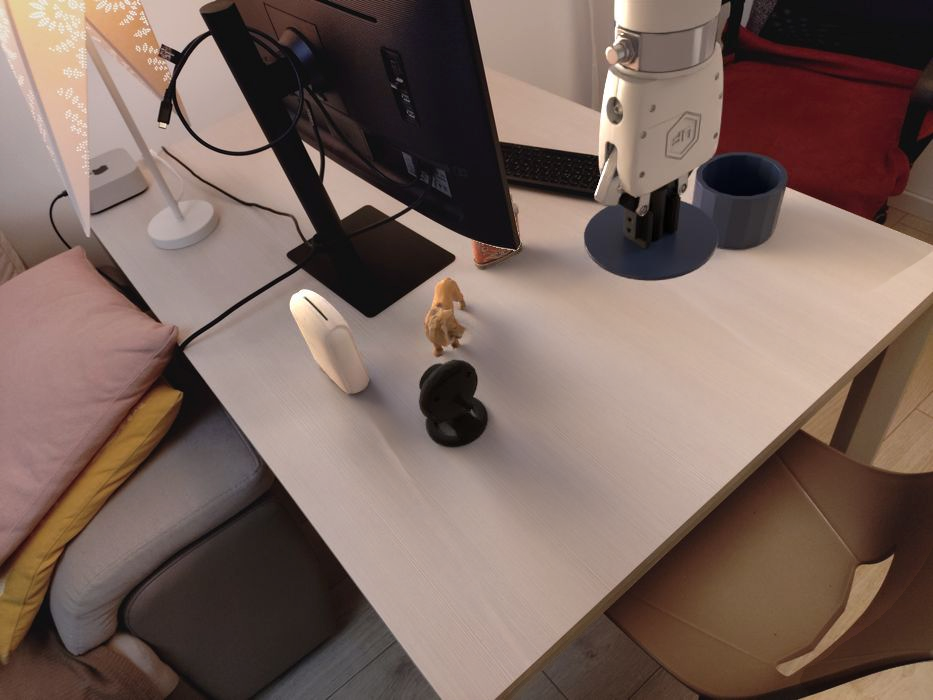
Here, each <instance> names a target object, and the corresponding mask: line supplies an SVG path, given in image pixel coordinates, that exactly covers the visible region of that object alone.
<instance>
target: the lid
mask: <svg viewBox="0 0 933 700" xmlns="http://www.w3.org/2000/svg"><path fill="white" fill-rule="evenodd" d="M667 190H668V184H666V185H664V186H662V187H660V188H658V189H656V190H654V191H652V192H651V194H650V202H649V209H648V210H650V211H651V212H652V213H653V224H652V237H651V244H650V246H649V247H647V248H646V249H644V248H642V247H640V246H639V245H637V244H636V243H634V242H633V241H631V240H630V239H628V238H627V237H625V236H624V234H623V223H624V207H623V206H621V205H617V206H605V207H604V208H602V209H600V210H599V211H597V213H595V214H594V215H593V216H592V217H591V218H590V220H589V221H588V222H587V224H586V226H585V228H584V232H583V246H584V250H585V252H586V254H587V255H588V257H589V258H590V260H591V261H592V262H593V263H594V264H595V265H597V266H598V267H599V268H601V269H602V270H604V271H605V272H606V271H607V272H608V273H610V274H612V275H614V276H617V277H621V278H625V279H628V280H635V281H642V282H643V281H644V282H656V281H657V282H658V281H667V280H671V279H677V278H681V277H683V276H686V275H689V274H691V273H693V272H695V271H697V270H699V269H700V268H701V267H703V266H704V265H706V264H707V263H708V262H709V261H710V259H711V258H712V257H713V256H714V254H715V252H716V251H717V248H718V247H717V245H718V230H717V227H716V225H715V223H714V222H713V220H712V219H711V218H710V217H709V216H708V215H707V214H706V213H705V212H704V211H702V210H701V209H699V208H698V207H696V206H694V205H692V203H689V202H687V201H683V200H681V202H680V211H679V220H678V229H677V231H675V232H674V233H668V232H667V231H665V230H664V222H665V212H666V201H667Z"/></svg>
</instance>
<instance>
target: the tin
mask: <svg viewBox="0 0 933 700" xmlns="http://www.w3.org/2000/svg"><path fill="white" fill-rule="evenodd" d="M788 182H789V178H788V172H787V169H786V168H785V167H784V166H783V165H782V164H781V163H780V161H778V160H775V159H774V158H772V157H769V156H767V155H765V154H760V153H754V152H749V151H731V152H726V153H721V154H716V155H713V156H712V157H711V158H710V159H709V160H708V161H707V162H705V163H704V164H702V165H700V166H699V167H697V168H696V171H695V179H694V184H693V185H694V186H693V194H692V200H691V204H692V205H694V206H696V207H698V208H699V209H701V210H702V211H704V212H705V213H706V214H707V215H708V216H709V217H710V218H711V219H712V220H713V222H714V223H715V225H716V227H717V230H718V245H717V248H719V249H723V250H746V249H751V248H755V247H758V246H760V245H762V244H764V243H766V242H767V241H768V240H769V239H770V238H771V237H772V236H773V234H774V232H775V230H776V228H777V225H778V220H779V216H780V212H781V209H782V205H783V202H784V201H783V200H784V197H785V192H786V189H787V185H788Z"/></svg>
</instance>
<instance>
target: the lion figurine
mask: <svg viewBox="0 0 933 700" xmlns="http://www.w3.org/2000/svg"><path fill="white" fill-rule="evenodd" d="M454 302H456V303H457V308H458V309H459V310H464V309H466V307H467V304H466V301H465V299H464V295H463V293H462V292H461V289H460V287H459V285H458V283H457V281H456V280H454V279H452V278H450V277H445V278H443V279H441V280H439V282H438V283H437V284H436V285H435V288H434V296H433V301H432V304H431V307H430V310H428V312H427V315H426V316H425V318H424V322H423V325H424V333H425V336H426V338H427V340H428V341H429V343H430V344H432V345H433V347H434V349H433V351H432V353H433V355H434V356H435V357H440V356H442V354H443V352H444V351H443V350H444V349H443V347H444V348H446V347H448V346H451V347H452V350H455V349H459V348H460V346H461V343H460V342H459V340H462V339H463V336H464V333H465V332H466V330H467V327H466V326H464V325H462V324H460V323H459V322H458V320H457V318H456V316H455V314H454V313H455V305H454Z"/></svg>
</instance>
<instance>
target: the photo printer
mask: <svg viewBox="0 0 933 700" xmlns="http://www.w3.org/2000/svg"><path fill="white" fill-rule="evenodd" d="M289 301H290V302H289V309H290V312H291V314H292V317H293V318H294V321H295V322H296V325H297V326H298V328H299V330H300V333H301V335H302V336H303V338H304V340H305V343H306V344H307V347H308V348H309V351H310V352H311V355H312V357H313V359H314V360H315V362H316V363H317V364H318V365H319V366H320V368H321V369H322V370H323V372H324V373H325V374H326V375H327V376H328V377H329V378H330V379H331V380H332V381H333V382H334V383H335V384H336V385H337V386H338V388H340V389H341V390H342V391H343V392H344V393H346V394H347V395H350V394H353V395H354V394H358V393H360V392H362V391H364V389H366V388H367V386H368V385H369V381H371V376H370V373H369V371H368V369H367V366H366V364H365V361H364V359H363V356H362V354H361V352H360V349H359V347H358V345H357V343H356V340H355V337H354V335H353V332H352V330H351V328H350V325H349V324H348V322H347V320H346V319H345V318H344V317H343V315H341V313H340V312H339V311H338V310H337V309H336V308H335V307H334V306H333V305H332V304H331V303H330V302H329V301H328V300H327V299H325V298H324V296H322V295H320V294H318V293H317V292H315V291H312V290H309V289H301V290H300V291H299V292H296V293H294V294H292V296H291V298H290V300H289Z"/></svg>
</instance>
